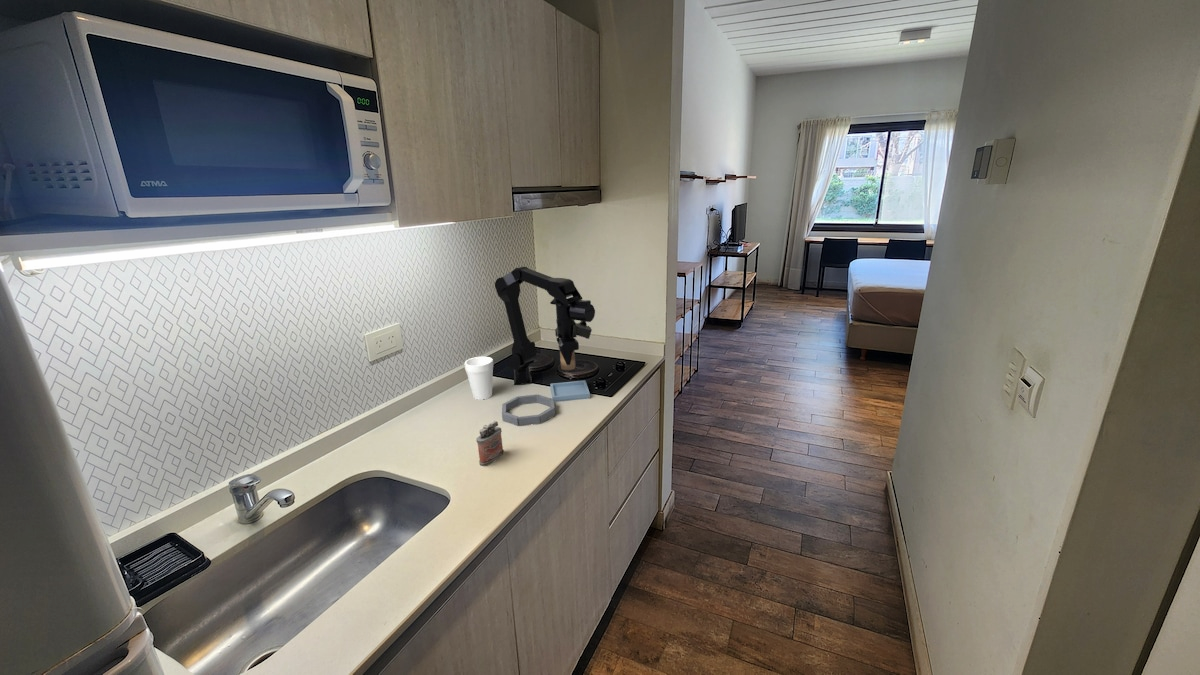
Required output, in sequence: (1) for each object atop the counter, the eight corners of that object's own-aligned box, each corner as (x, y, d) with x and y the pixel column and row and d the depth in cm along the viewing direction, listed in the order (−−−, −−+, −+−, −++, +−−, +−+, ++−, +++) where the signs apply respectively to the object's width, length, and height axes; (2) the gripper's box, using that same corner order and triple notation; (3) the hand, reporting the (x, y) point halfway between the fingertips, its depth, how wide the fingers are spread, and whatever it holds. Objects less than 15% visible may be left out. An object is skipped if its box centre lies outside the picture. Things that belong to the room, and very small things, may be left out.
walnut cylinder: (560, 365, 169) (559, 346, 166) (574, 364, 169) (573, 345, 167) (561, 370, 164) (560, 351, 162) (576, 369, 165) (575, 350, 162)
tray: (550, 388, 174) (550, 383, 173) (585, 384, 176) (585, 380, 175) (552, 402, 163) (552, 397, 163) (590, 398, 165) (589, 393, 164)
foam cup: (499, 390, 174) (496, 356, 170) (492, 402, 165) (487, 366, 161) (474, 390, 175) (470, 356, 171) (464, 401, 166) (460, 366, 162)
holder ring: (503, 404, 163) (502, 397, 162) (552, 399, 165) (552, 392, 164) (502, 427, 147) (501, 420, 146) (556, 421, 150) (555, 414, 149)
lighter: (485, 467, 127) (481, 433, 124) (476, 464, 129) (472, 430, 126) (506, 453, 133) (503, 420, 130) (497, 449, 135) (494, 417, 132)
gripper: (593, 323, 153) (595, 369, 158) (585, 309, 171) (587, 351, 176) (558, 326, 152) (561, 372, 157) (553, 311, 169) (556, 353, 174)
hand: (567, 361), depth 166 cm, fingers closed on walnut cylinder, 5 cm apart
